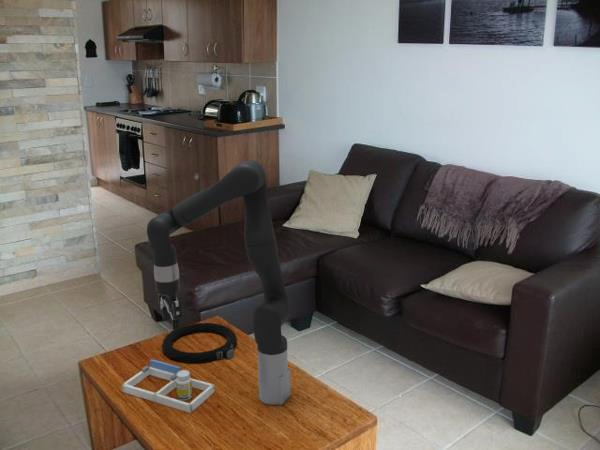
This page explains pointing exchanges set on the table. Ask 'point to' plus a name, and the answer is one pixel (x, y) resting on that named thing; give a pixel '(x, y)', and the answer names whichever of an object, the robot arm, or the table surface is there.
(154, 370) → the two-slot divided caddy
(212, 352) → the cable lock
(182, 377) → the supplement bottle
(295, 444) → the table surface
